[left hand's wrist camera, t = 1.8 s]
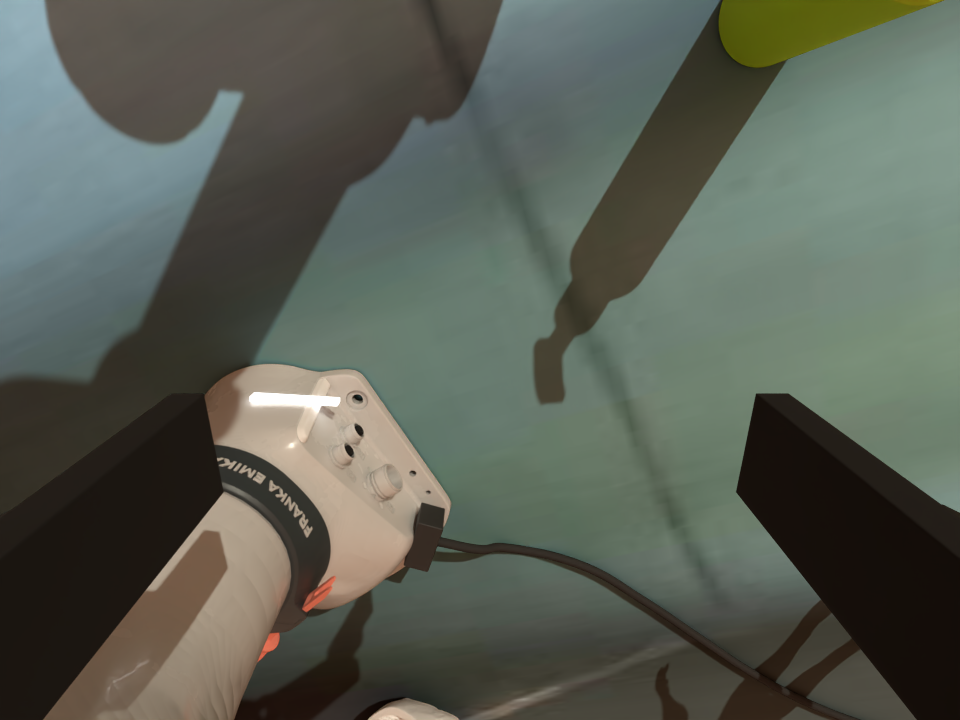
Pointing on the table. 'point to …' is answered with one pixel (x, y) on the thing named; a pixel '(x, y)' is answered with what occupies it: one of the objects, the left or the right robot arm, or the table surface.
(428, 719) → the skull bowl
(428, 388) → the table surface
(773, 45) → the soap dispenser
